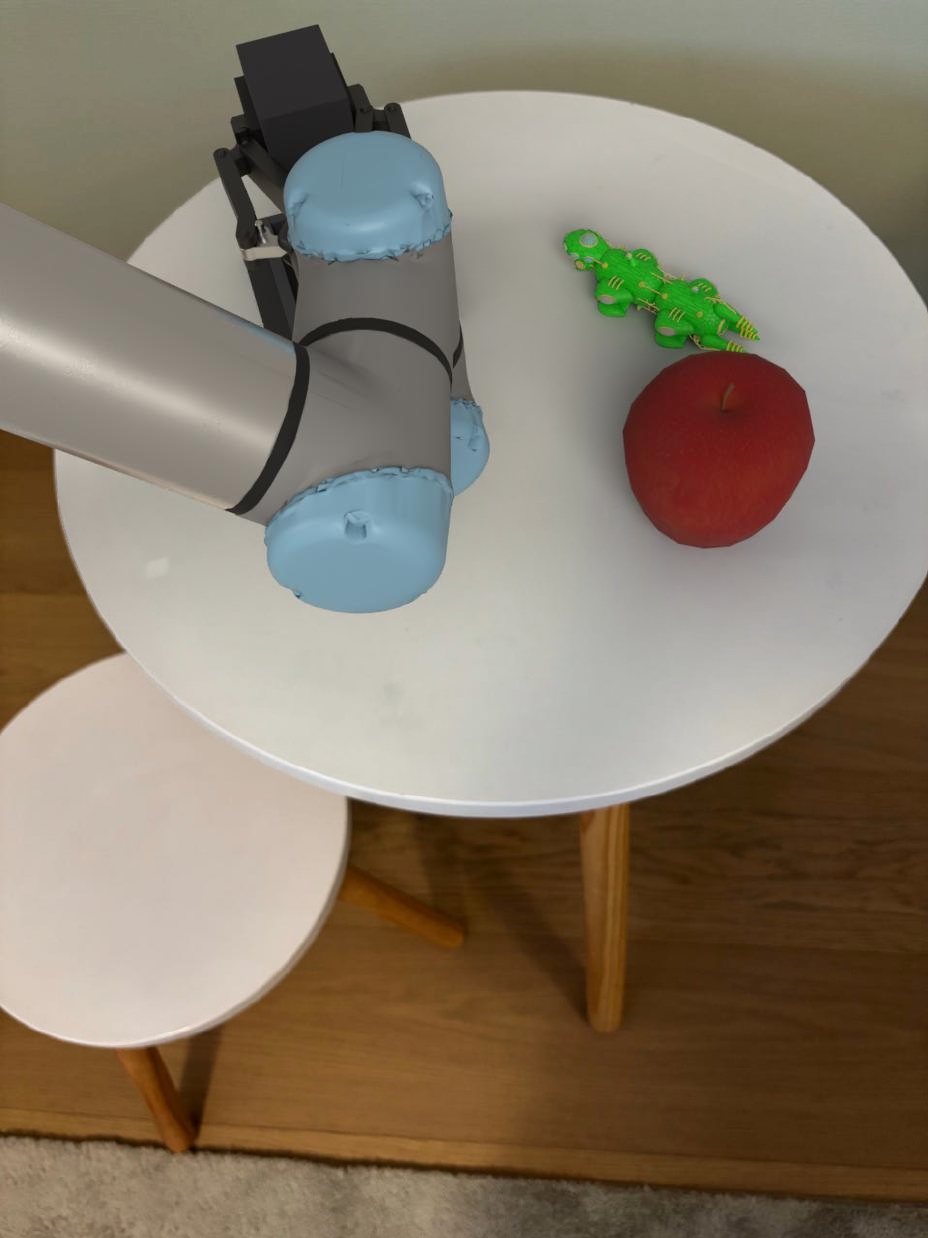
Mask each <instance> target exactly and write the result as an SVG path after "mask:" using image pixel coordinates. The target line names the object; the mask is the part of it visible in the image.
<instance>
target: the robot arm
mask: <svg viewBox="0 0 928 1238" xmlns="http://www.w3.org/2000/svg"><path fill="white" fill-rule="evenodd" d="M330 54H331V56H332V58H333V61H334V63H335V66H336V68H337V71H338V73H339V75H340V78H341V80H342V83H343V85H344V88H345V90H346V92H347V95H348V98H349V103H350V108H351V113H352V119H353V124H354V129H355V133H354V132H352V133H346V134H342V135H339V136H336V137H333V138H331V139H328V140H326V141H324V142H322V143H320V144H318V145H317V146H315V147H313V148H312V149H310V150H309V151H308V152H306V153H305V154H304V155H303V156H302V157H301V158H300V159H299V160H298V161H297V162H296V163H295V165H294V166H293V168H292V169H291V171H290V173H289V174H288V173H287V172H286V171H285V170H284V169H283V168H282V167H281V166H280V165H279V164H278V163H277V162H276V160H275V159H274V158H273V157H270V155H269V153H268V152H267V149H266V145H265V141H264V138H263V134H262V130H261V127H260V124H259V121H258V118H257V115H256V112H255V109H254V106H253V103H252V100H251V97H250V94H249V91H248V88H247V85H246V82H245V78H244V75H240V76H236V77H233V81H234V84H235V88H236V92H237V95H238V98H239V101H240V106H241V109H242V112H243V113H241V114H238V115H234V116H231V118H230V121H229V122H230V123H229V124H230V126H231V130H232V132H233V137H234V140H235V145H234V146H233V148H231V149H229V148H227V147H219V148H217V149H215V150H214V151H213V153H212V157H213V160H214V163H215V166H216V169H217V172H218V175H219V178H220V181H221V184H222V187H223V190H224V192H225V194H226V198H227V200H228V202H229V205H230V207H231V209H232V212H233V215H234V216H235V219H236V226H235V227H236V228H235V239H236V242H237V245H238V248H239V252H240V255H241V257H242V261H243V263H244V266H245V268H246V270H247V269H250V270H255V269H258V268H260V267H261V266H262V264H263V259H264V258H275V257H282V258H283V260H284V261H285V262H286V263H287V264H289V265H290V266H292V267H293V268H294V271H295V274H296V277H297V280H298V283H299V287H298V295H297V303H296V311H295V319H294V327H293V336H292V340H290V339H286V338H284V337H282V336H280V335H278V334H276V333H273V332H271V331H269V330H267V329H265V328H264V327H263V326H261V325H258V324H256V323H254V322H253V321H250V320H248V319H246V318H244V317H242V316H240V315H238V314H236V313H233V312H231V311H230V310H227V309H225V308H223V307H220V306H219V305H217V304H215V303H212V302H210V301H209V300H206V299H204V298H202V297H199V296H198V295H196V294H194V293H191V292H189V291H188V290H185V289H183V288H181V287H178V286H177V285H174V284H172V283H170V282H169V281H167V280H164V279H163V278H160V277H157V276H156V275H154V274H151V273H149V272H147V271H145V270H143V269H140V268H139V267H137V266H134V265H132V264H130V263H128V262H127V261H124V260H122V259H120V258H118V257H115V256H113V255H112V254H109V253H107V252H105V251H104V250H103V251H102V250H101V249H99V248H96V247H95V246H92V245H90V244H89V243H87V242H84V241H82V240H80V239H78V238H75V237H73V236H72V235H69V234H67V233H65V232H63V231H61V230H59V229H56V228H54V227H52V226H50V225H48V224H46V223H44V222H42V221H40V220H37V219H36V218H34V217H32V216H29V215H28V214H25V213H22V212H21V211H19V210H17V209H15V208H12V207H10V206H8V205H6V204H4V203H2V202H0V430H2V431H5V432H8V433H10V434H12V435H16V436H18V437H21V438H25V439H27V440H30V441H32V442H35V443H38V444H41V445H43V446H46V447H49V448H52V449H55V450H57V451H59V452H63V453H66V454H67V455H71V456H74V457H76V458H79V459H82V460H84V461H87V462H90V463H93V464H96V465H98V466H101V467H103V468H107V469H110V470H112V471H114V472H118V473H120V474H123V475H126V476H128V477H132V478H133V479H137V480H139V481H143V482H145V483H148V484H150V485H153V486H155V487H159V488H161V489H164V490H167V491H170V492H173V493H175V494H178V495H181V496H183V497H186V498H189V499H191V500H195V501H197V502H200V503H203V504H205V505H208V506H211V507H213V508H217V509H218V510H219V509H220V510H222V511H225V512H227V513H231V514H233V515H235V516H237V517H239V518H241V519H244V520H246V521H250V522H252V523H256V524H259V525H261V526H263V527H265V530H264V538H263V542H264V545H265V546H266V563H267V567H268V569H269V572H270V574H271V576H272V578H273V579H274V580H275V581H276V583H277V584H278V585H279V586H281V587H282V588H283V587H284V588H285V589H288V590H290V591H291V592H292V594H293V596H294V597H295V598H296V599H297V600H300V601H301V602H303V603H304V604H307V605H309V606H312V607H315V608H318V609H321V610H325V611H330V612H333V613H334V612H335V613H336V612H337V613H343V614H344V613H345V614H353V615H354V614H356V615H357V614H360V615H362V614H363V615H364V614H376V613H383V612H387V611H391V610H395V609H398V608H401V607H404V606H406V605H409V604H411V603H413V602H415V601H416V600H417V599H418V598H420V597H421V596H422V595H423V594H427V592H428V591H429V590H431V589H432V588H433V587H434V586H435V585H436V583H437V582H438V581H439V579H440V578H441V575H442V573H443V571H444V568H445V565H446V560H447V551H448V542H449V533H450V524H451V517H452V516H451V514H452V507H453V502H454V499H455V497H458V496H459V495H461V494H462V493H463V492H465V491H466V490H468V489H469V488H470V487H471V486H472V485H473V484H475V482H476V481H477V480H478V479H479V478H480V476H481V475H482V474H483V472H484V470H485V469H486V467H487V465H488V462H489V458H490V452H491V447H490V446H491V445H490V440H489V437H488V433H487V430H486V427H485V424H484V420H483V415H484V414H483V413H484V412H483V410H482V407H481V405H477V402H476V400H475V398H474V396H473V393H472V390H471V386H470V383H469V378H468V369H467V360H466V351H465V343H464V342H465V341H464V335H463V330H462V324H461V320H460V312H459V300H458V290H457V289H458V288H457V278H456V277H457V276H456V265H455V255H454V245H453V236H452V223H453V216H454V214H453V212H452V211H451V209H450V208H449V206H448V200H447V193H446V188H445V182H444V177H443V173H442V170H441V167H440V165H439V162H437V160H436V158H435V157H434V156H433V154H432V153H431V152H430V151H429V150H428V149H427V148H426V147H425V146H423V144H420V143H418V142H417V141H415V140H414V139H412V137H411V136H412V135H411V133H410V130H409V126H408V125H407V121H406V117H405V115H404V112H403V108H402V105H401V104H399V103H398V102H394V101H393V102H389V103H387V104H385V105H384V106H383V109H379V108H374V106H373V105H372V104H371V102H370V100H369V97H368V95H367V93H366V90H365V87H364V86H363V85H361V84H360V83H355V84H351V85H348V84H347V81H346V80H345V77H344V74H343V72H342V69H341V67H340V64H339V62H338V60H337V57H336V55H335V52H330ZM244 176H247V177H248V178H249V179H250V180H251V181H252V182H253V183H254V184H255V185H256V186H257V188H258V189H259V190H260V191H261V192H262V193H263V194H264V195H265V196H266V197H267V198H268V199H269V200H270V201H271V203H272V204H273V205H274V206H275V207H276V208H277V209H278V210H279V211H280V213H283V214H284V215H285V216H286V217H287V220H286V222H285V224H284V225H283V227H282V229H281V230H280V232H279V234H278V236H277V235H273V234H272V233H271V232H270V229H269V227H267V226H264V224H263V221H261V220H257V219H258V217H257V213H256V210H255V207H254V205H253V202H252V200H251V197H250V194H249V193H248V190H247V187H246V185H245V183H244V181H243V177H244Z"/></svg>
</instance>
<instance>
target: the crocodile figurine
mask: <svg viewBox="0 0 928 1238" xmlns="http://www.w3.org/2000/svg"><path fill="white" fill-rule="evenodd" d="M625 245H626V244H624V245H621V247H617V246H614V245H612V244H611V243H610V241H609V240H608V239H604V237H603V236H602V234H601V233H600V232H598V231H593V230H592V229H585V228H579V229H576V230H572V231H570V232H566V233H565V234H564V235H563V241H562V245H561V247H562V251H565V252H566V253H567V255H568V256H569V257H570V258H569V259H570V261H571V262H575V265H576V266H577V267H575V268H574V269H576V271H577V272H580V273H581V272H584V271H593V272H594V277H595V279H596V281H597V286H596V287H595V291H594V296H595V299H596V300H597V301H599V303H598V306H597V308H598V311H599V312H600V313H601V314H602V315H603V316H607V317H615V318H616V317H617V318H618V317H626V316H627V314H626V312H627V310H628V308H629V306H630V305H631V303H632V304H633V305H636V311H637V312H638V311H639V312H640V310H642V309H645V310H646V311H649V312H651V313H653V314H654V315H656V318H655V320H654V329H655V331H656V333H655V337H654V338H655V341H656V343H657V344H658V345H660V346H662V347H664V348H668V349H669V348H671V349H678V348H684V347H685V344H684V343H685V341H686V340H687V338H688V336H689V337H690V339H691V340H692V341H693V342H694V343H695V345H697V347H698V348H699V349H701V350H704V351H706V350H708V351H719V350H726V351H734V352H743V353H749V352H748V351H747V350H745V348H744V347H743V346H741V345H740V344H739V345H738V343H737V342H734V340H732V339H731V340H729V341H728V340H727V339H724V338H723V337H720V336H722V335H723V334H724V333H725V332H726V330H727V331H730V332H732V333H736V334H738V335H739V337H740V338H741V339H743V338H744V339H745V340H749V341H754V342H755V341H758V342H759V341H761V338H760V337H759V334H758V330H757V329H756V328H755V325H753V322H750V319H749V318H748V319H746V318H747V315H741V314H740V313H739V312H738V311H737V310H736V309H734V308H733V307H732V306H731V305H730V304H729V303H728V302H726V301H724V300H723V299H721V294H720V292H719V291H718V286H717V284H715V283H714V282H712V281H710V280H708V279H706V278H704V277H703V278H696V279H695V280H692V281H690V282H687V281H685V280H686V276H685V275H683V274H682V275H681V276H680V277H679V278H677V277H675V276H674V275H672V274H670V273H667V272H665V271H664V270H662V269H663V264H662V263H659V262H658V257H657V255H656V254H655V253H654V252H653V251H650V250H648V249H647V248H638V249H635V250H626V246H625ZM666 276H668V277H669V280H668V279H666ZM672 278H673V279H672ZM650 307H653V308H654V309H653V310H652V309H651V308H650ZM655 311H656V312H655ZM692 335H693V337H692ZM699 342H700V344H699Z"/></svg>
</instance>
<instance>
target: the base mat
mask: <svg viewBox="0 0 928 1238" xmlns="http://www.w3.org/2000/svg"><path fill="white" fill-rule="evenodd" d="M257 220H261V221H263V224H264V226H267V227H269V229H270V232H271V233H272V234H273V235H277V236H278V234H279V232H280V230H281V229H282V227H283V225H284V224H285V222H286V217H285V215H284V214H283V213H282V212H280V213H276V214H272V215H269V216H264V217H260V218H257ZM246 271H247V274H248V279H249V281H250V284H251V289H252V291H253V295H254V299H255V302H256V306H257V310H258V312H259V316H260V319H261V323H262V327H263V328H265V329H267V330H269V331H271V332H273V333H276V334H278V335H280V336H282V337H284V338H286V339H290V340H292V336H293V327H294V319H295V311H296V303H297V295H298V287H299V283H298V280H297V277H296V274H295V271H294V268H293V267H292V266H290V265H289V264H287V263H286V262H285V261H284V260H283V258H282V257H275V258H264V259H263V264H262V266H261V267H260V268H258V269H255V270H250V269H247V268H246Z"/></svg>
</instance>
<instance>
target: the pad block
mask: <svg viewBox="0 0 928 1238" xmlns="http://www.w3.org/2000/svg"><path fill="white" fill-rule="evenodd" d="M235 49H236V52H237V57H238V60H239V63H240V68H241V70H242V71H241V72H242V76H244V78H245V82H246V85H247V88H248V91H249V94H250V97H251V100H252V103H253V106H254V109H255V112H256V115H257V118H258V121H259V124H260V127H261V130H262V134H263V138H264V141H265V145H266V149H267V152H268V153H269V155H270V157H273V158H274V159H275V160H276V162H277V163H278V164H279V165H280V166H281V167H282V168H283V169H284V170H285V171H286V172H287V173H288V174H289V173H290V171H291V169H292V168H293V166H294V165H295V163H296V162H297V161H298V160H299V159H300V158H301V157H302V156H303V155H304V154H305V153H306V152H308V151H309V150H310V149H312V148H313V147H315V146H317V145H318V144H320V143H322V142H324V141H326V140H328V139H331V138H333V137H336V136H339V135H342V134H346V133H352V132H354V133H355V129H354V124H353V119H352V113H351V108H350V103H349V98H348V95H347V92H346V90H345V88H344V85H343V83H342V80H341V78H340V75H339V73H338V71H337V68H336V66H335V63H334V61H333V58H332V56H331V54H330V53H331V51H330V49H329V46H328V44H327V42H326V39H325V37H324V34H323V32H322V30H321V27H320V24H318V23H316V24H313V25H309V26H305V27H301V28H296V29H293V30H292V29H291V30H288V31H285V32H282V33H281V32H280V33H278V34H274V35H269V36H265V37H262V38H257V39H254V40H249V41H245V42H242V43H238V44H235ZM285 217H286V216H285ZM286 220H287V217H286Z"/></svg>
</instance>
